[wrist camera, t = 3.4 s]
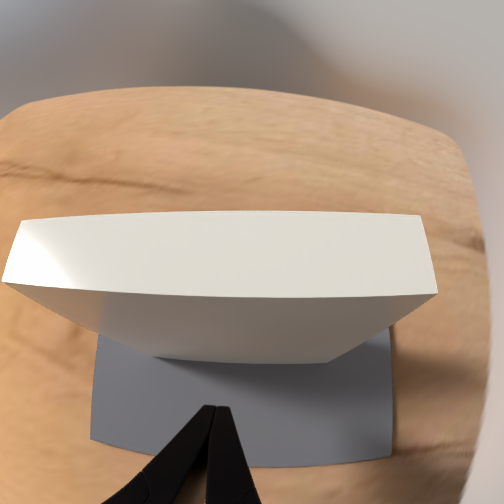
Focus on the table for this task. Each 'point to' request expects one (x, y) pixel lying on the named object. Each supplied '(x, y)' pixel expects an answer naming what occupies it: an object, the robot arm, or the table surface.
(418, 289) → the tile
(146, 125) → the table surface
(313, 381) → the mat
